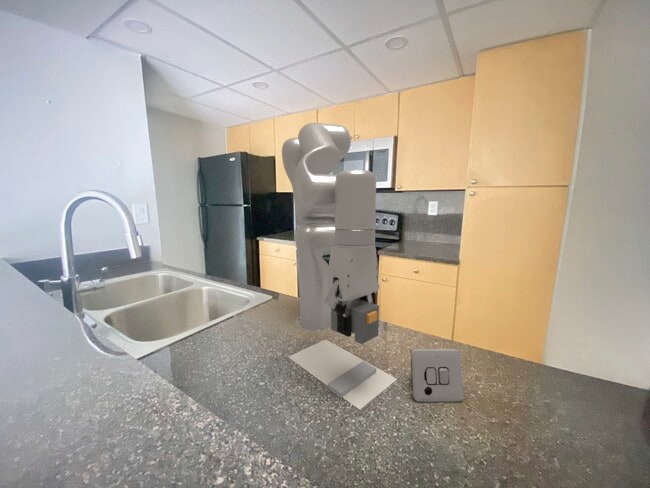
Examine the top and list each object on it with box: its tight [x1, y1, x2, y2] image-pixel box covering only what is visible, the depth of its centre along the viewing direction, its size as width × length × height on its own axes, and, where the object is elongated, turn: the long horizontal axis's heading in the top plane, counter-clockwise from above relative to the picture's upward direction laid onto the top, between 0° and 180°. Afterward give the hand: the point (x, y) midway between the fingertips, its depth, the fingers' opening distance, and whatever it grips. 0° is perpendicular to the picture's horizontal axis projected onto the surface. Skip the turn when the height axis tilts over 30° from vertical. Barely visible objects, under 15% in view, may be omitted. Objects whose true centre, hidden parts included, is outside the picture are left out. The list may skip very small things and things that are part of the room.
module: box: [330, 298, 380, 345], centre depth 51 cm, size 5×9×6 cm, turn 42°
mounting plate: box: [288, 339, 398, 410], centre depth 58 cm, size 12×22×2 cm, turn 42°
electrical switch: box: [409, 348, 464, 403], centre depth 51 cm, size 9×5×9 cm, turn 90°
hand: (354, 328), depth 52 cm, fingers closed on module, 5 cm apart
